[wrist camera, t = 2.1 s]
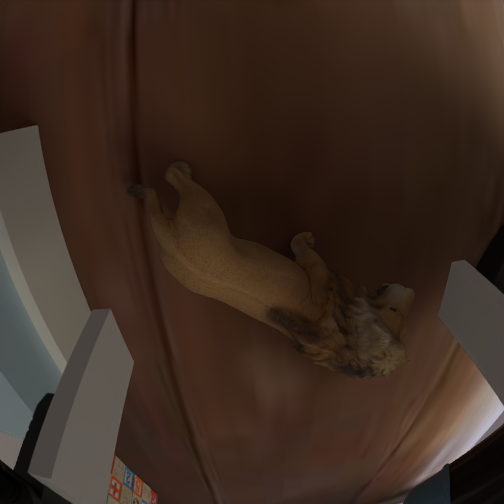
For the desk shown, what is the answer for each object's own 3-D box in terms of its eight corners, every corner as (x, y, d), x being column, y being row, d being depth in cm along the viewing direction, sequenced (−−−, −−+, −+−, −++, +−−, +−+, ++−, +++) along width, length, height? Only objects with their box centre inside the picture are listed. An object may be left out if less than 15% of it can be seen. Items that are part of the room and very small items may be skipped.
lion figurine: (373, 238, 19) (453, 327, 11) (333, 304, 21) (381, 409, 13) (143, 144, 15) (63, 187, 7) (118, 230, 17) (50, 328, 9)
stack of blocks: (159, 493, 36) (156, 557, 25) (125, 490, 36) (118, 550, 25) (93, 430, 27) (72, 523, 16) (52, 425, 27) (28, 508, 16)
